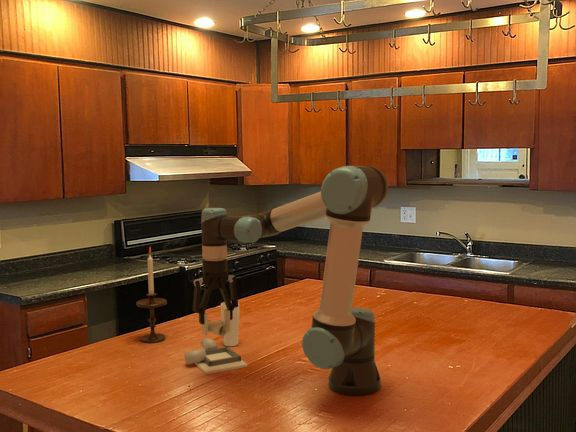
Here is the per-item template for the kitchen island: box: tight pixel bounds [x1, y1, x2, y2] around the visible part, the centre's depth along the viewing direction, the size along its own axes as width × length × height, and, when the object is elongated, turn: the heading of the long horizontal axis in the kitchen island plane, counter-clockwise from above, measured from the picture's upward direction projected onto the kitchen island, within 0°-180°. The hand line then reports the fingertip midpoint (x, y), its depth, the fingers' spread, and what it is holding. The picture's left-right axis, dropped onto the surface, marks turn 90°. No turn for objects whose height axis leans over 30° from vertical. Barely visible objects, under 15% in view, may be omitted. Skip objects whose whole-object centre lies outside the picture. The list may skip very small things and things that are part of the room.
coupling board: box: [183, 336, 248, 375], centre depth 199 cm, size 22×17×5 cm
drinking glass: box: [220, 301, 241, 347], centre depth 216 cm, size 7×7×15 cm
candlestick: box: [136, 245, 168, 344], centre depth 222 cm, size 11×11×35 cm
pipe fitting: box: [207, 319, 227, 338], centre depth 186 cm, size 8×4×7 cm
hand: (216, 332), depth 186 cm, fingers closed on pipe fitting, 7 cm apart
